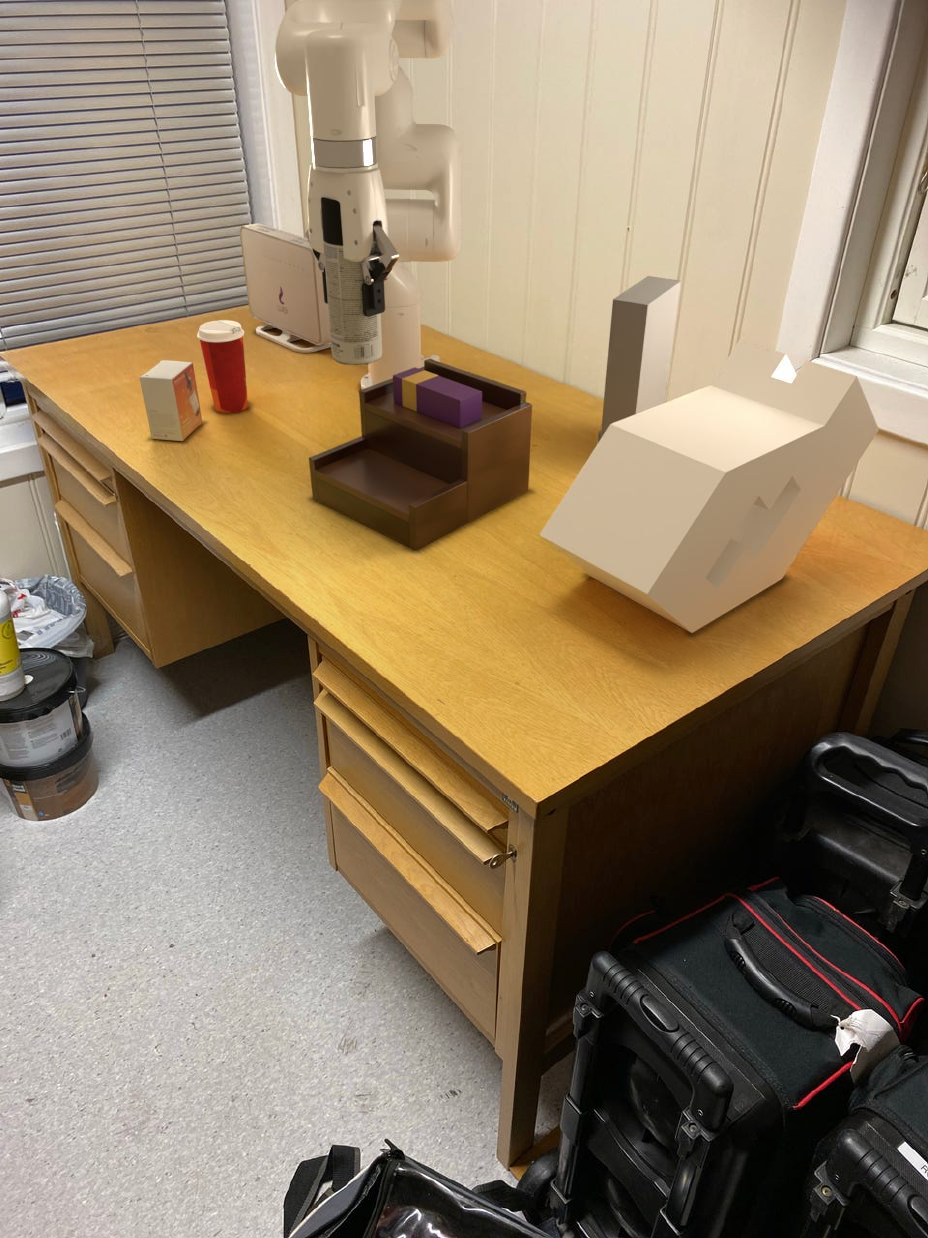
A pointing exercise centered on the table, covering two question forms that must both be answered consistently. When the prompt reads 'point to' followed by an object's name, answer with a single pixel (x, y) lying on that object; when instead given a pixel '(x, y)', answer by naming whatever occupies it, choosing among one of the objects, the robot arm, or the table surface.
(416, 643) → the table surface
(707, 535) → the cream angular block
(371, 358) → the spray can
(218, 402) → the paper cup
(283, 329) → the network device
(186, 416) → the small box
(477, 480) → the step rack
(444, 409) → the purple banded block
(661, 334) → the cassette tape recorder
